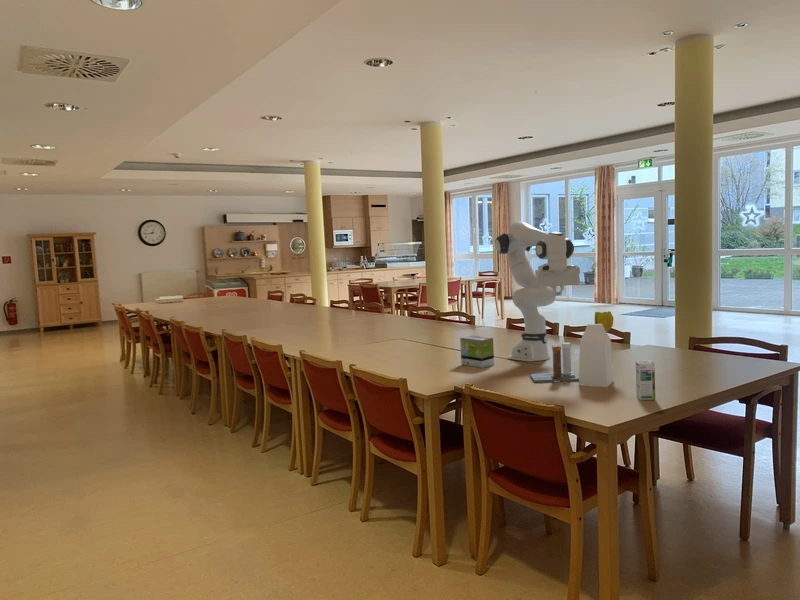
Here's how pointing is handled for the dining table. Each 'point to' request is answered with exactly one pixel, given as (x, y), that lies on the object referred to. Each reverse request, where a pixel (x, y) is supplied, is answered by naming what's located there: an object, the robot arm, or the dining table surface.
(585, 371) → the milk
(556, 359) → the walnut lever
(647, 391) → the syrup box
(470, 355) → the tea box
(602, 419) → the dining table surface
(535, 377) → the control board
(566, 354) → the grey lever
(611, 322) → the flower
